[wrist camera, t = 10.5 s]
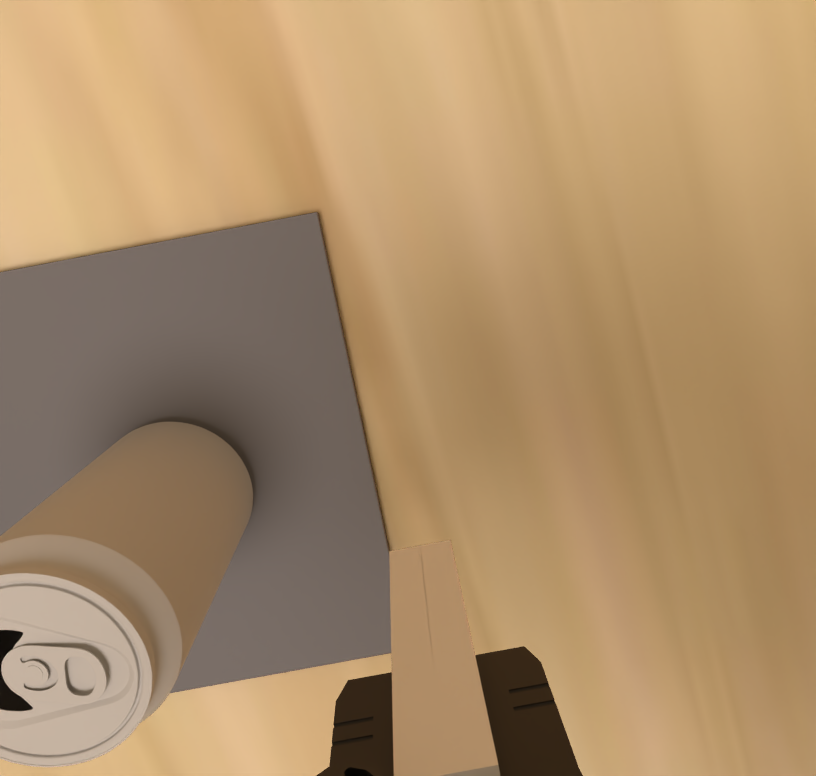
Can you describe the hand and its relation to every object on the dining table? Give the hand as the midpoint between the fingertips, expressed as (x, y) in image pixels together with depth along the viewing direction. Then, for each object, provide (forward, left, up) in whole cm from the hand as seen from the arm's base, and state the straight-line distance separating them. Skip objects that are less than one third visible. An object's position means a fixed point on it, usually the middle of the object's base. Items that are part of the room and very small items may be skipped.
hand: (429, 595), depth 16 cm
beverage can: (0, +10, -12) cm, 16 cm away
